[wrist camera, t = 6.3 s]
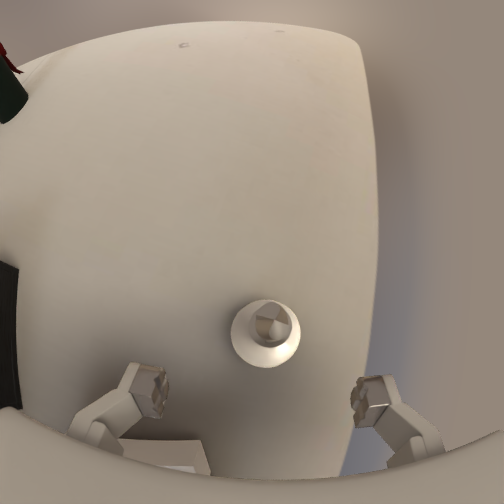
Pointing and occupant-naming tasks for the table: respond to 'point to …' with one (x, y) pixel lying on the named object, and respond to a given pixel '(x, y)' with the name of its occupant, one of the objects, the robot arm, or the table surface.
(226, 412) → the table surface
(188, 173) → the table surface
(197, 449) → the bracket
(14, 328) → the open box
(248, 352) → the screw
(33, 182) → the table surface
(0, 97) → the wine bottle
